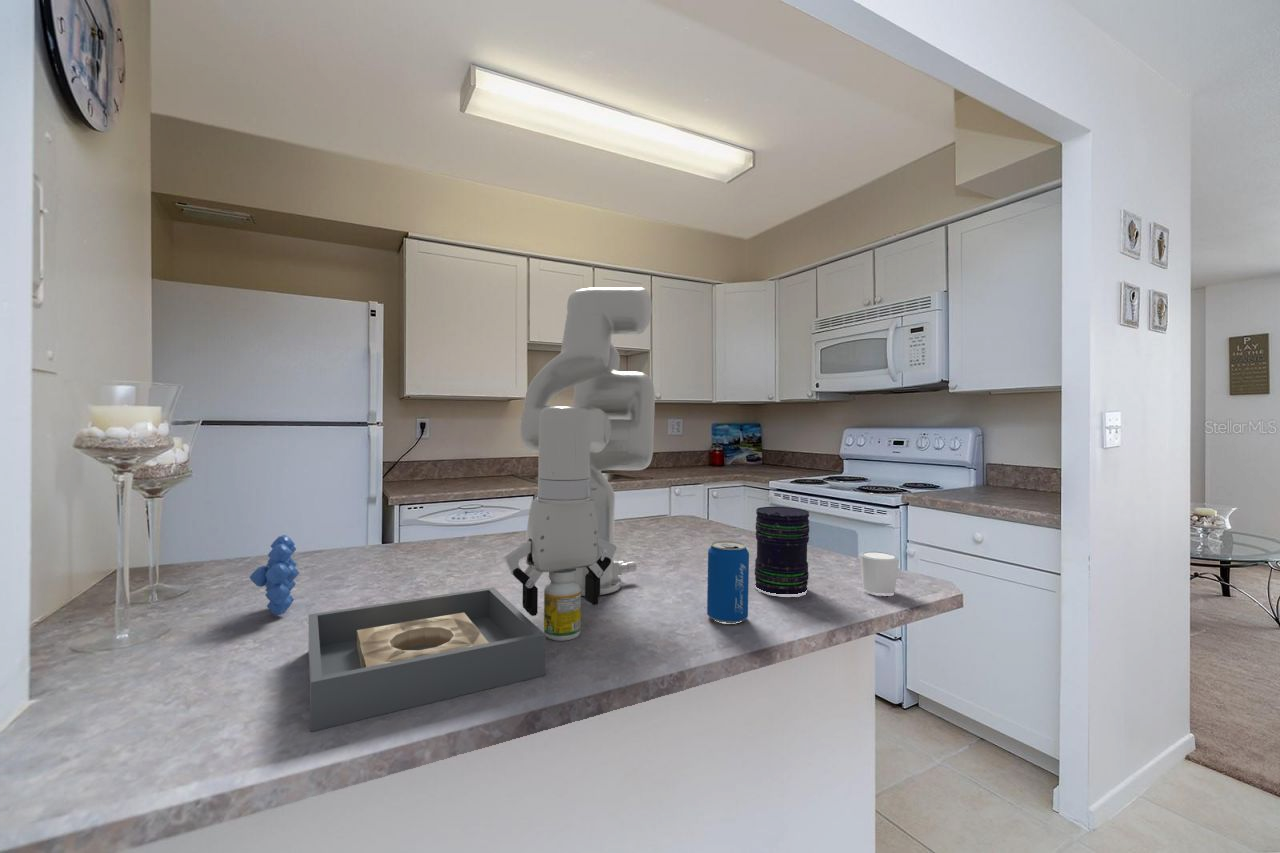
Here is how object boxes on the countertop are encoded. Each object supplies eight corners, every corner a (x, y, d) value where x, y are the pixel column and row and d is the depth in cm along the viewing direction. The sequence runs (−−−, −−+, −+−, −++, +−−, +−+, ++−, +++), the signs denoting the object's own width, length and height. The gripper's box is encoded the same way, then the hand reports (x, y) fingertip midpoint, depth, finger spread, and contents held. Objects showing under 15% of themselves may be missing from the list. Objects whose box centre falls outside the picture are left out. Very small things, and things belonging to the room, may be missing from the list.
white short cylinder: (900, 591, 105) (901, 554, 105) (895, 600, 100) (896, 561, 99) (862, 584, 109) (863, 549, 109) (854, 593, 103) (855, 556, 103)
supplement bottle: (583, 639, 80) (584, 573, 80) (546, 643, 79) (547, 575, 78) (576, 626, 85) (577, 563, 85) (541, 629, 84) (542, 565, 84)
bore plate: (464, 628, 82) (464, 612, 81) (492, 665, 69) (492, 646, 69) (356, 647, 74) (356, 630, 74) (366, 693, 62) (367, 672, 62)
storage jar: (766, 579, 112) (768, 504, 112) (815, 588, 106) (817, 510, 106) (745, 591, 104) (746, 511, 104) (796, 601, 98) (798, 517, 98)
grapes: (255, 603, 93) (255, 532, 93) (302, 598, 96) (302, 529, 96) (242, 627, 83) (242, 547, 83) (295, 620, 86) (295, 543, 86)
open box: (493, 618, 88) (493, 587, 88) (545, 675, 69) (545, 635, 69) (308, 651, 75) (308, 614, 75) (310, 731, 56) (310, 682, 56)
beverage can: (722, 629, 85) (724, 550, 85) (699, 615, 91) (700, 542, 90) (756, 622, 88) (757, 546, 88) (731, 609, 94) (732, 538, 93)
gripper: (604, 485, 89) (602, 592, 89) (497, 490, 80) (496, 609, 80) (627, 490, 83) (626, 605, 83) (514, 497, 74) (513, 626, 74)
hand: (562, 607), depth 82 cm, fingers open, 9 cm apart
